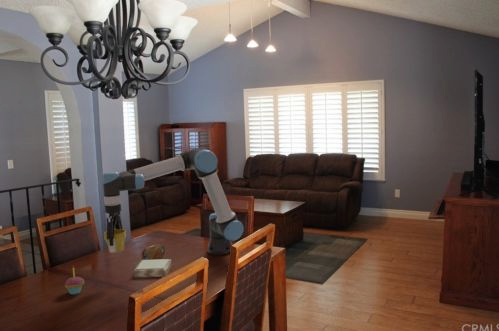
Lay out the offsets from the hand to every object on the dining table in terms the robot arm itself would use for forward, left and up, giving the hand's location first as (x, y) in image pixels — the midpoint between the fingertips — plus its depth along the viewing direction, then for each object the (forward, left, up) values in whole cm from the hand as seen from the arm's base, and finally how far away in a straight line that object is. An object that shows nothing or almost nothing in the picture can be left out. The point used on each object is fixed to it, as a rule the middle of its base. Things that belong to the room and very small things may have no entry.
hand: (116, 248), depth 213 cm
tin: (-11, -30, -17) cm, 36 cm away
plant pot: (0, 0, -2) cm, 2 cm away
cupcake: (+16, +13, -17) cm, 27 cm away
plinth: (-15, -12, -16) cm, 25 cm away
